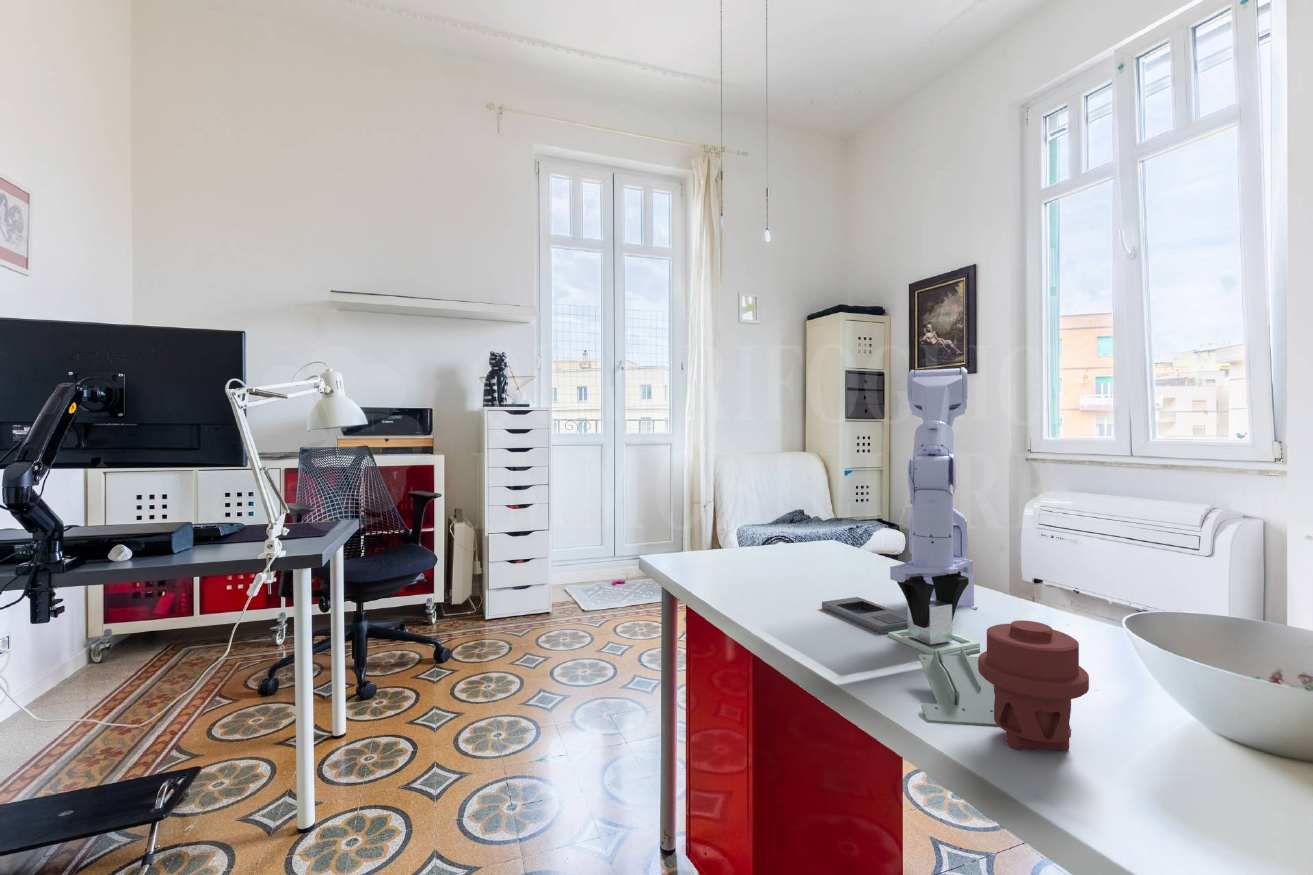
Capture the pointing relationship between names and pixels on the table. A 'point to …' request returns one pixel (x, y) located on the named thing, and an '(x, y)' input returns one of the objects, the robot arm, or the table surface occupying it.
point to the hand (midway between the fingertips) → (932, 623)
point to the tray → (967, 645)
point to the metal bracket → (958, 690)
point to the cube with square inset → (933, 624)
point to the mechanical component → (1033, 682)
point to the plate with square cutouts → (867, 614)
